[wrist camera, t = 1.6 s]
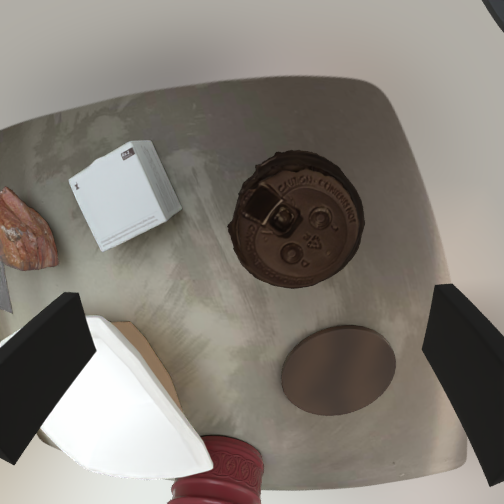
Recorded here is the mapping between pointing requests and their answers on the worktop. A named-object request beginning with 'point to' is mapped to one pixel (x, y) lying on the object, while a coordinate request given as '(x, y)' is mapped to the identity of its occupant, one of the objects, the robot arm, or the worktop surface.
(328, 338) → the coaster
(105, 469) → the bowl
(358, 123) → the worktop surface
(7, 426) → the robot arm
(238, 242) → the coffee cup
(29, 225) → the stone
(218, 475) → the kitchen canister
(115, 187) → the small box
